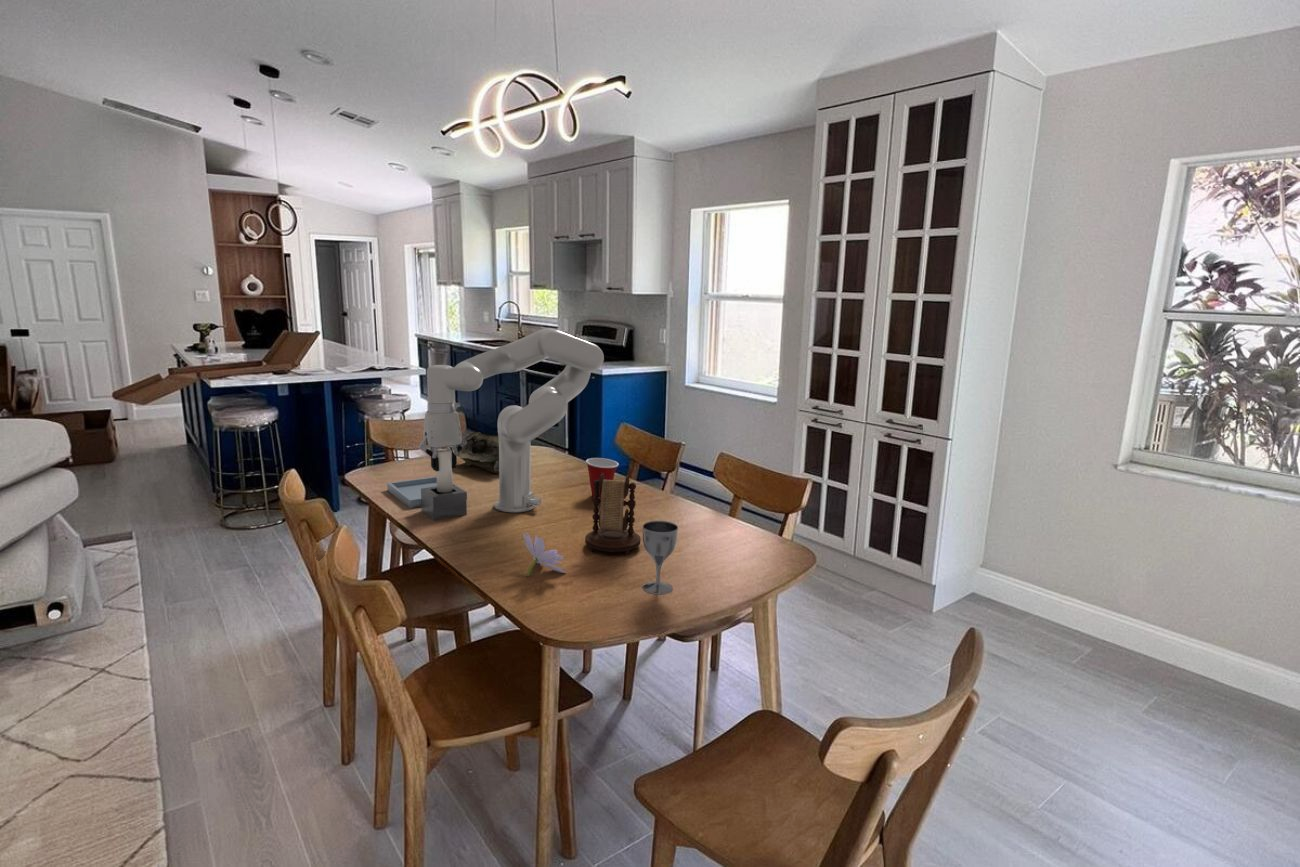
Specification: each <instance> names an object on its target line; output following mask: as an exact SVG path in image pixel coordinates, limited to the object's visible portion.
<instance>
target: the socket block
mask: <svg viewBox="0 0 1300 867" xmlns="http://www.w3.org/2000/svg"><path fill="white" fill-rule="evenodd" d="M454 484H455V483H453V491H451V492H438V491H437V486H435V487H428V488H421V507H420V508H421V512H422V513H423V514H425V515H426V516H428V517H429V518H430V519H431V520H433V521H439V520H443V519H450V518H454V517H459V516H460V517H461V516H466V515H467V514H468V512H467V507H468V506H467V499H466V492H467V491H466V490H465V489H463V488H461V487H460V486H458V485H457V484H455V485H454ZM456 485H457V486H458V487H457V486H456ZM459 487H460V488H459ZM462 489H463V490H462ZM464 490H465V491H466V492H465V491H464Z"/></svg>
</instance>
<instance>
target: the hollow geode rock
mask: <svg viewBox="0 0 1300 867" xmlns="http://www.w3.org/2000/svg"><path fill="white" fill-rule="evenodd" d="M464 439H465V440H466V441H467V444H466V445H465V446H464V447H462V449H461V450H460V451H459V452H458V455H457V457H458V458H460V459H461V460H463V461H464V463H465V464H464V466H472V465H474V466H478V467H480V468H483V469H484V470H486V471H489V472H491V473H493V474H497V475H499V438H498V435H493V434H492V435H488V434H486V433H481V432H480V431H475V432H472V433H470V434H469V435H468V436H466V437H464Z"/></svg>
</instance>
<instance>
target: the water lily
mask: <svg viewBox="0 0 1300 867" xmlns="http://www.w3.org/2000/svg"><path fill="white" fill-rule="evenodd" d="M522 536H523V539H524V544H525V546H526V548H527V550H528V552H529V553H530V554H531V555H532V556H533V558H532V559H533V562H532V564H531V565H530V567H529V569H528V571H527V574H526V577H530V575H531V573H532V570H533V568H534V567H535V565H536V563H537V564H542V565H544V566H546V568H549V569H551V570H552V571H555V572H558V573H562V574H566V571H564V569H563V568H561V567H560V566H557V565H559V564H563V562H561V560H563V559H565V558H566V557H565V556H564V555H561V554H559V553H558V552H559V550H558V549H554V548H553V549H549V550H546V549H545V547H546V544H545V540H544V539H543V537H538V534H535V536H534V544H533V541H532V538H531V536H530V534H529V533H528V532H526V534H525V533H524V532H523V531H522Z"/></svg>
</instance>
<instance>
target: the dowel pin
mask: <svg viewBox="0 0 1300 867" xmlns="http://www.w3.org/2000/svg"><path fill="white" fill-rule="evenodd" d="M437 458H438V461H439V471H435V472H436V473H435V474H436V476H437V491H438V492H451V491H453V484H454V483H453V468H452V451H451V450H450V448H441V449H438V451H437Z"/></svg>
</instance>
